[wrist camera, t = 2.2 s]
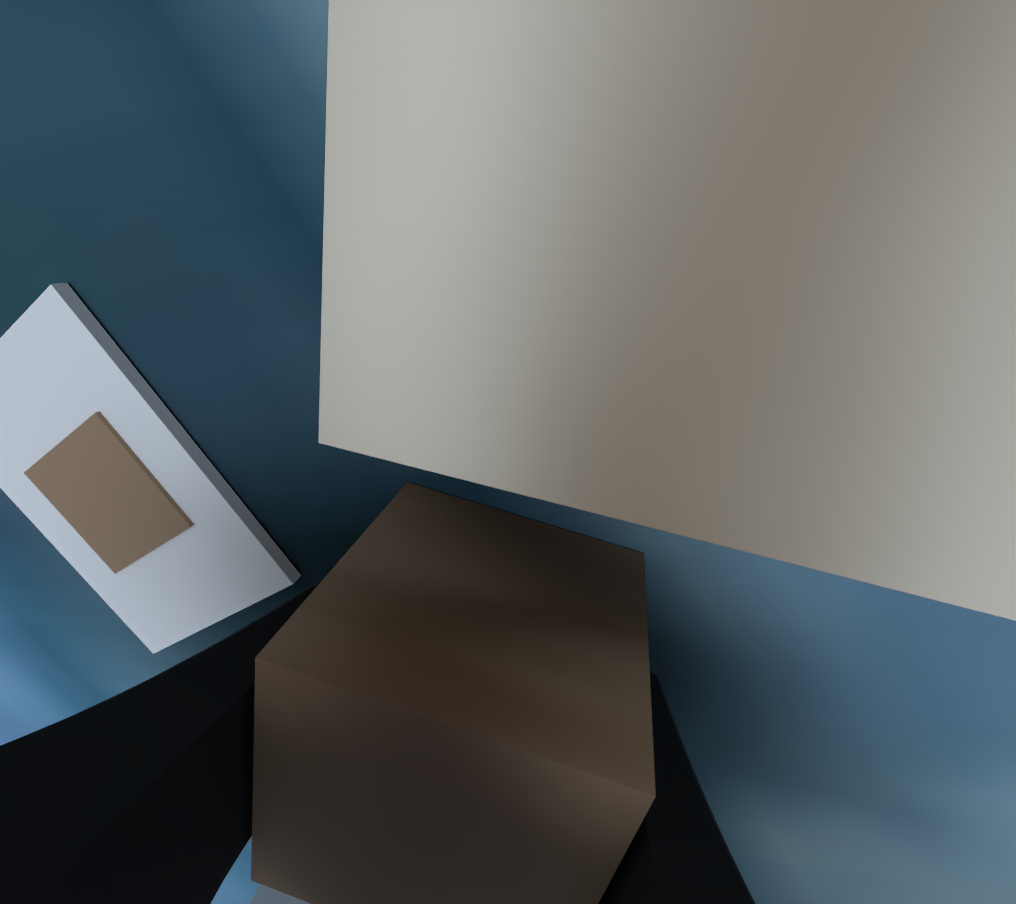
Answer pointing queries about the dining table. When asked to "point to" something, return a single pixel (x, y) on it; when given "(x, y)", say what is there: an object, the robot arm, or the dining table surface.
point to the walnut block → (456, 715)
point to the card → (123, 480)
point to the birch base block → (688, 269)
